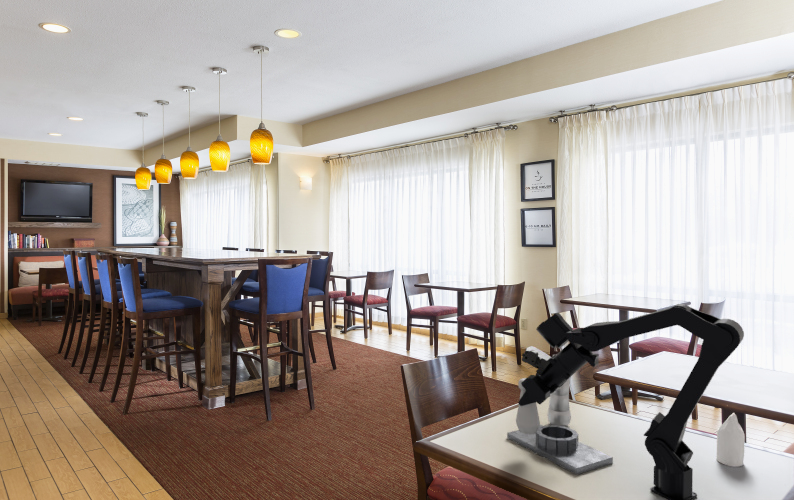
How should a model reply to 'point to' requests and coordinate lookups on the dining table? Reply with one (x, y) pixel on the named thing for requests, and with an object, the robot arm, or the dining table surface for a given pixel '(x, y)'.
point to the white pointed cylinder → (730, 442)
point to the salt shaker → (527, 415)
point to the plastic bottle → (560, 406)
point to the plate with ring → (562, 448)
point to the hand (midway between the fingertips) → (522, 402)
